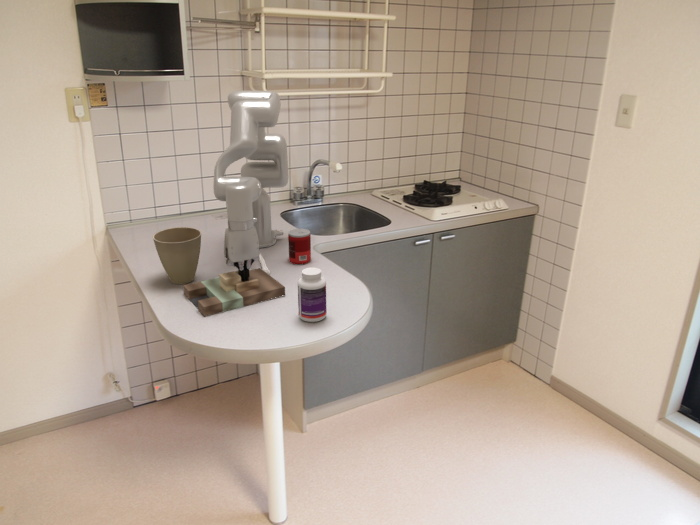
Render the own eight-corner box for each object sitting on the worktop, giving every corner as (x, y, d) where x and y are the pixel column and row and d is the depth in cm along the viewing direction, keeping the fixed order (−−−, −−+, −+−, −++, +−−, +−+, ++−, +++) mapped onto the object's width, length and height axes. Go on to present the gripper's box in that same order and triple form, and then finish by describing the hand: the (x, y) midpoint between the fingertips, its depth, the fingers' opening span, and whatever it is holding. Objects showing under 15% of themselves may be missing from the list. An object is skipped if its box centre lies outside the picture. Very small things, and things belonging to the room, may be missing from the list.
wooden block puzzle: (260, 276, 192) (259, 261, 190) (285, 295, 178) (284, 279, 176) (184, 294, 178) (182, 277, 176) (204, 316, 164) (203, 299, 162)
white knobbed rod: (246, 249, 216) (246, 242, 215) (257, 248, 217) (257, 241, 216) (259, 278, 191) (259, 270, 190) (271, 276, 192) (271, 269, 191)
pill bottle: (331, 318, 164) (331, 272, 158) (308, 326, 160) (307, 279, 154) (316, 308, 170) (316, 263, 165) (293, 315, 166) (292, 269, 160)
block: (235, 282, 179) (234, 271, 178) (241, 288, 175) (240, 276, 174) (219, 286, 177) (219, 274, 175) (226, 291, 173) (225, 279, 171)
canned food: (314, 259, 207) (314, 230, 203) (303, 266, 200) (303, 237, 196) (296, 255, 210) (295, 227, 206) (285, 263, 203) (284, 233, 199)
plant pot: (157, 274, 192) (151, 229, 186) (202, 268, 197) (198, 225, 191) (160, 292, 179) (154, 244, 173) (208, 285, 184) (203, 239, 178)
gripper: (257, 217, 178) (260, 271, 185) (212, 225, 170) (217, 281, 177) (268, 223, 172) (271, 279, 179) (221, 231, 165) (226, 289, 171)
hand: (244, 279), depth 178 cm, fingers closed
